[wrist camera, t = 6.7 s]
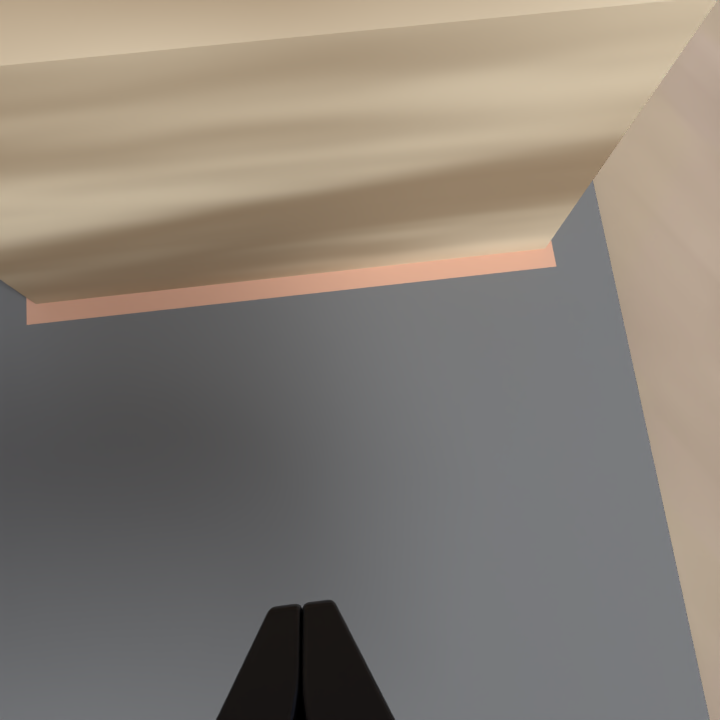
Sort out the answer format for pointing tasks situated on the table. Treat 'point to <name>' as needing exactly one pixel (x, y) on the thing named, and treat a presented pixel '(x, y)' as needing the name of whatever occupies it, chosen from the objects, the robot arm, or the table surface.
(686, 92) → the table surface
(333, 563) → the mat
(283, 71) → the t block
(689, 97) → the table surface
